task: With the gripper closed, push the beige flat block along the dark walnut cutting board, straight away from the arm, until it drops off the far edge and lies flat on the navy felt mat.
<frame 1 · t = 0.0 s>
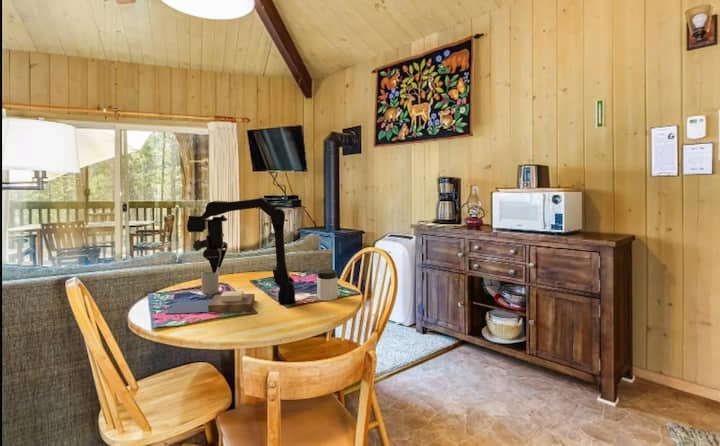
hand: (216, 269, 173), 15 cm above the table, tool pointing down, fingers open, 9 cm apart
beige flat block: (232, 299, 173), point 3 cm above the table, touching cutting board
jar: (327, 298, 185), on the table
felt mat: (191, 307, 171), on the table
cutting board: (232, 306, 173), on the table
cup: (209, 291, 194), on the table
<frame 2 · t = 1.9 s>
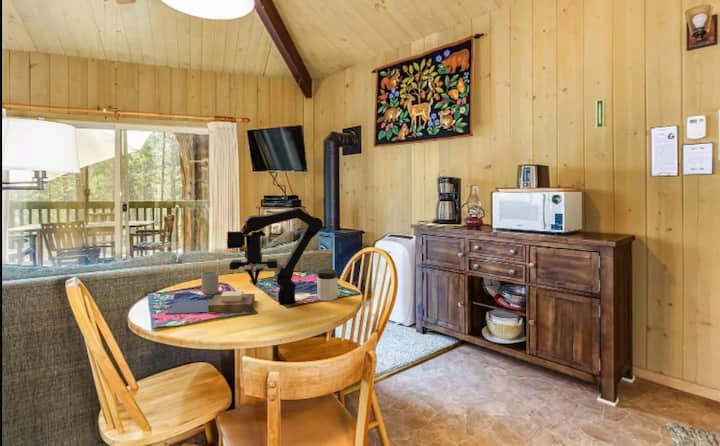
hand: (254, 284, 173), 9 cm above the table, tool pointing down, fingers closed
nothing on the table moved.
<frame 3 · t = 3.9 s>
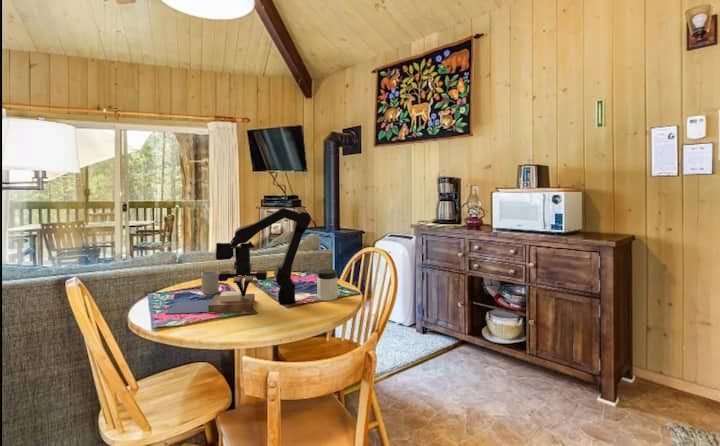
hand: (243, 296, 173), 4 cm above the table, tool pointing down, fingers closed
beige flat block: (231, 299, 173), point 3 cm above the table, touching cutting board, gripper
everything else where it was.
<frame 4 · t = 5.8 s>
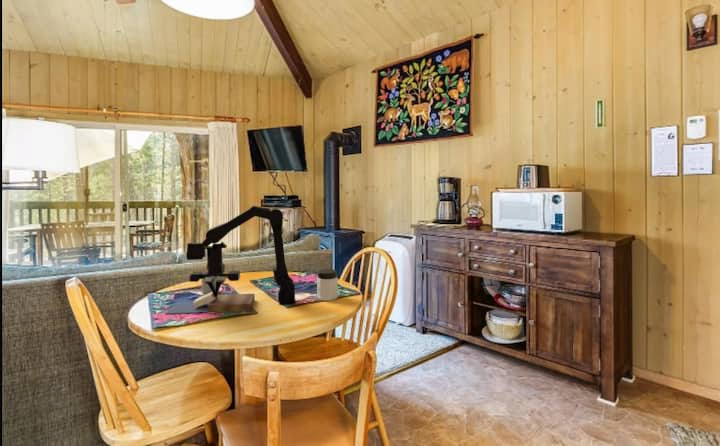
hand: (216, 296, 172), 4 cm above the table, tool pointing down, fingers closed
beige flat block: (206, 301, 172), point 2 cm above the table, tilted 24°, touching gripper
everything else where it was.
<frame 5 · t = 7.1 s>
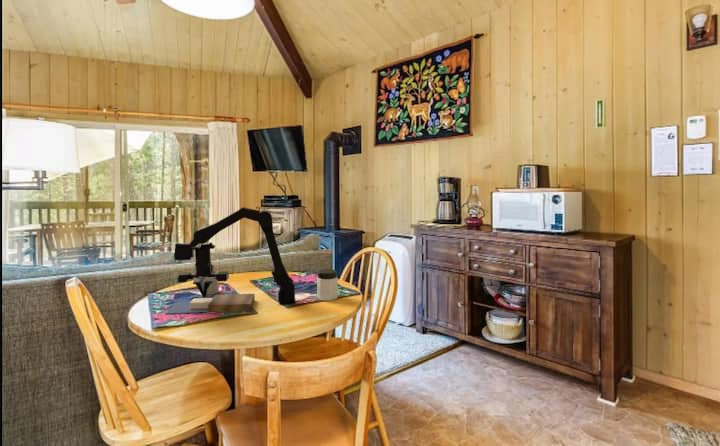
hand: (204, 297, 171), 4 cm above the table, tool pointing down, fingers closed
beige flat block: (202, 306, 172), resting on felt mat
everything else where it was.
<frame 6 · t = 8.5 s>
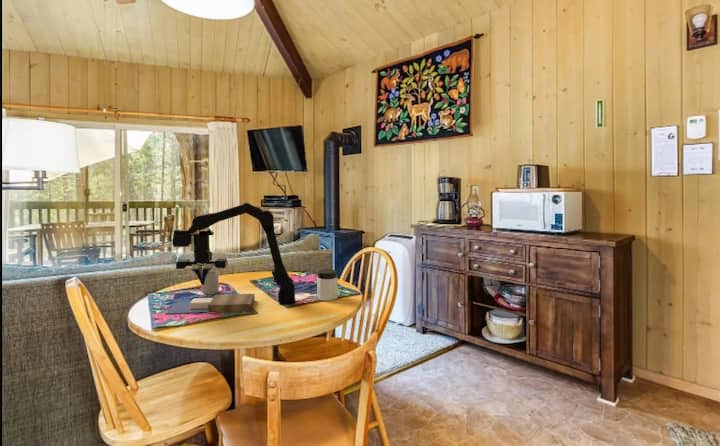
hand: (203, 284, 171), 9 cm above the table, tool pointing down, fingers closed
nothing on the table moved.
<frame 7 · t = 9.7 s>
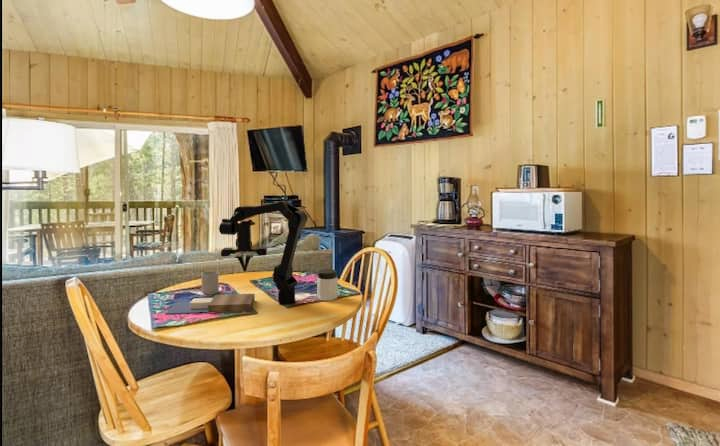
hand: (245, 271, 183), 12 cm above the table, tool pointing down, fingers closed
nothing on the table moved.
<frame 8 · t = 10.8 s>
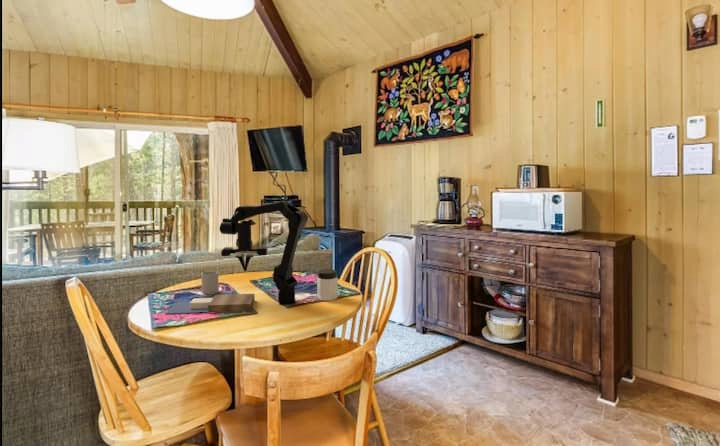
hand: (245, 270, 183), 12 cm above the table, tool pointing down, fingers closed
nothing on the table moved.
at the end: beige flat block inside the target area (3.9 cm from its centre), resting on felt mat; beige flat block tilted 0° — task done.
